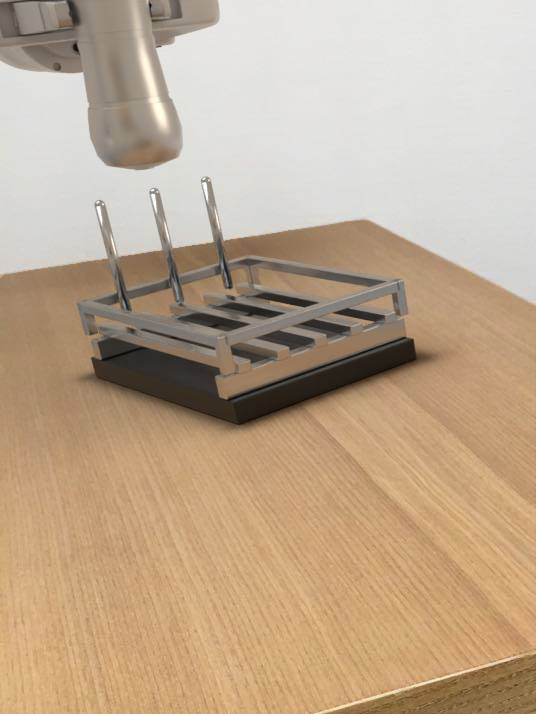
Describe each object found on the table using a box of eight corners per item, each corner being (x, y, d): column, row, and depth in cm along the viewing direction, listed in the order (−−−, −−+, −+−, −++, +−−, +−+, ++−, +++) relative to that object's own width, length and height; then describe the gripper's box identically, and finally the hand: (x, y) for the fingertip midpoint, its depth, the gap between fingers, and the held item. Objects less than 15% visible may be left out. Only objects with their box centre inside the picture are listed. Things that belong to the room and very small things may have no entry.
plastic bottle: (156, 174, 88) (89, -142, 80) (79, 177, 90) (6, -131, 82) (206, 159, 93) (148, -139, 85) (132, 162, 96) (68, -128, 87)
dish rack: (95, 376, 74) (49, 208, 69) (263, 323, 81) (231, 168, 77) (238, 424, 63) (194, 229, 59) (417, 358, 70) (390, 180, 66)
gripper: (-94, -18, 91) (-57, -27, 80) (172, -41, 100) (236, -52, 90) (-68, 73, 93) (-29, 76, 83) (188, 41, 103) (252, 40, 93)
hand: (111, 9), depth 86 cm, fingers closed on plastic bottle, 6 cm apart
